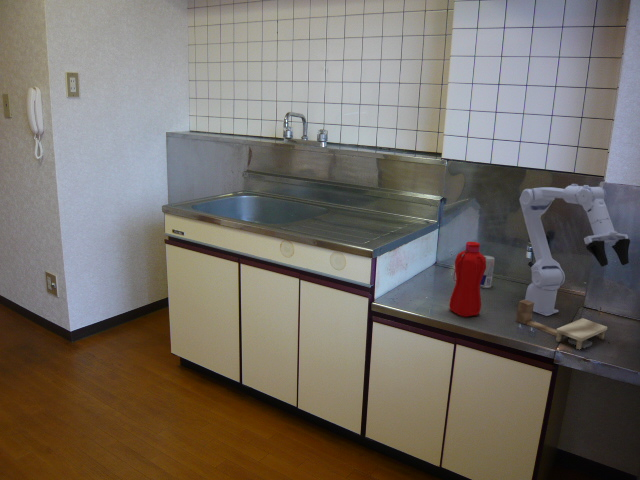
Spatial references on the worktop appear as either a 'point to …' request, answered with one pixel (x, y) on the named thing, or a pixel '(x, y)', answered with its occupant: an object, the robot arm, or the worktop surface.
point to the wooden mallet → (530, 317)
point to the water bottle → (468, 281)
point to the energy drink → (488, 272)
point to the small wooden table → (581, 331)
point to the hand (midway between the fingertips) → (615, 264)
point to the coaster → (584, 343)
